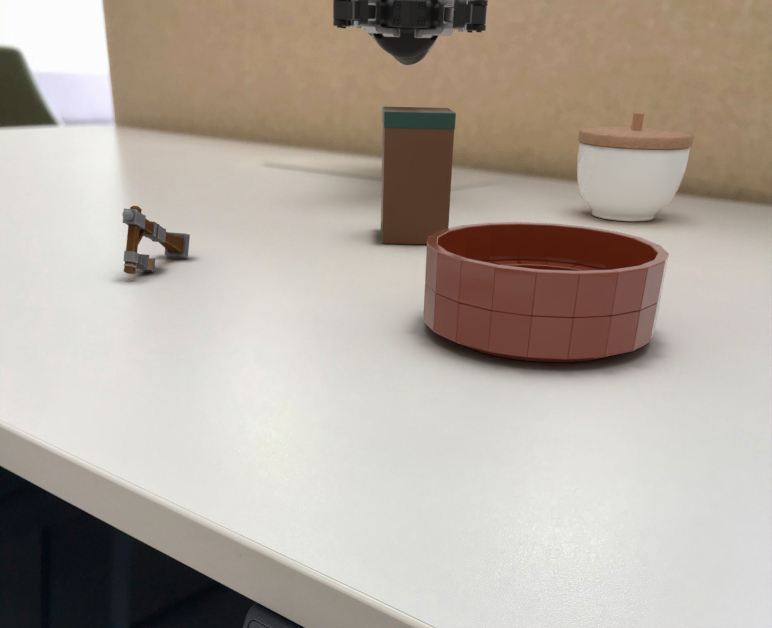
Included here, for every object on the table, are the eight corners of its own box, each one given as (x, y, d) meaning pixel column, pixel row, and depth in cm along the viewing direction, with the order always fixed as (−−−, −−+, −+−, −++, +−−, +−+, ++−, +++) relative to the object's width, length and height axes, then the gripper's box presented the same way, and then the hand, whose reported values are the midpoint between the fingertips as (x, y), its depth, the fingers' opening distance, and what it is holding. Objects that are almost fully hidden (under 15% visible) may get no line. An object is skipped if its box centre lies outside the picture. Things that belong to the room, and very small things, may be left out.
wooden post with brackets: (108, 268, 55) (113, 199, 54) (163, 290, 63) (168, 229, 62) (133, 270, 55) (138, 201, 54) (185, 292, 63) (190, 231, 62)
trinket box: (612, 229, 76) (630, 117, 72) (548, 209, 85) (559, 109, 80) (701, 222, 80) (722, 116, 76) (630, 204, 89) (646, 108, 84)
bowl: (502, 290, 56) (509, 214, 54) (687, 331, 49) (706, 245, 46) (377, 332, 47) (379, 243, 45) (580, 389, 40) (596, 287, 38)
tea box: (379, 230, 73) (382, 106, 68) (442, 231, 74) (449, 108, 69) (381, 243, 68) (384, 111, 63) (448, 245, 69) (455, 112, 64)
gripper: (335, -30, 83) (331, -44, 69) (475, -25, 84) (498, -38, 70) (336, 54, 87) (331, 58, 73) (469, 59, 87) (490, 63, 73)
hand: (413, 11), depth 71 cm, fingers open, 8 cm apart
